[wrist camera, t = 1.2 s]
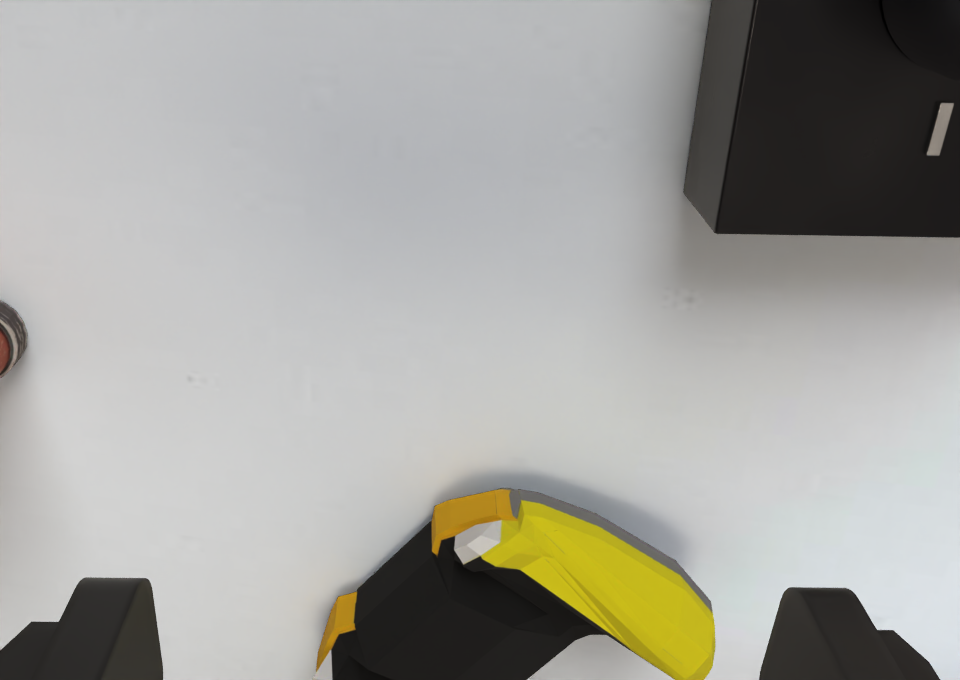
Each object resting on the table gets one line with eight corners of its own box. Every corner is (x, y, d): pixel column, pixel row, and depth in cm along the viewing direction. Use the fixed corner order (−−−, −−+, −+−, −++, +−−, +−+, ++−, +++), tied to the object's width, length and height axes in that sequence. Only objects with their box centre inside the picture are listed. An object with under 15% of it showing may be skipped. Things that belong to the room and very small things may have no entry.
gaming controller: (708, 552, 35) (521, 412, 31) (755, 664, 30) (540, 513, 27) (452, 756, 40) (265, 654, 36) (457, 881, 35) (241, 777, 31)
